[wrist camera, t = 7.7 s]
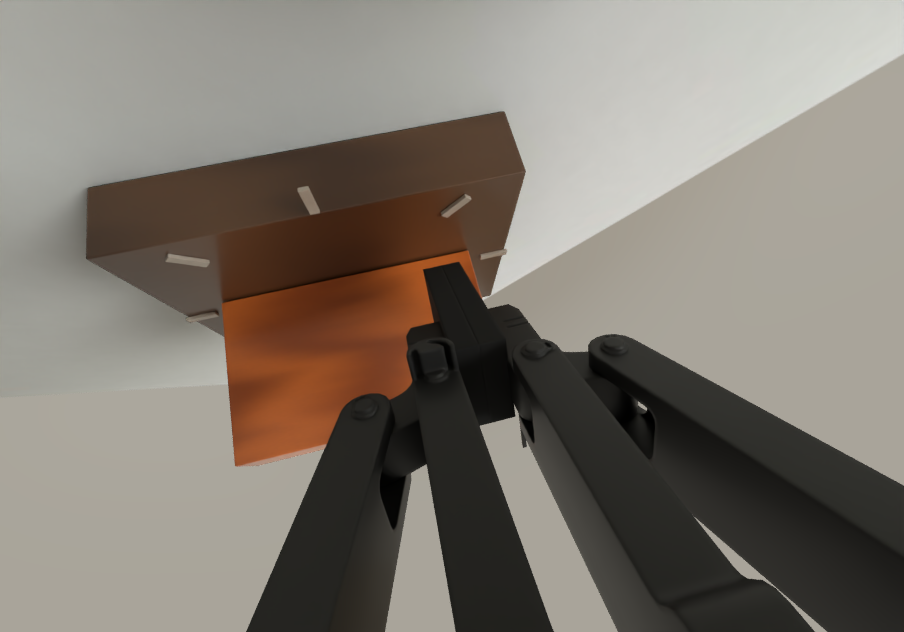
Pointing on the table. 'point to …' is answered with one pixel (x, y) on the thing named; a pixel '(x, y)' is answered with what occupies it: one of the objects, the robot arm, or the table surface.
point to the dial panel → (311, 215)
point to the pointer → (320, 354)
